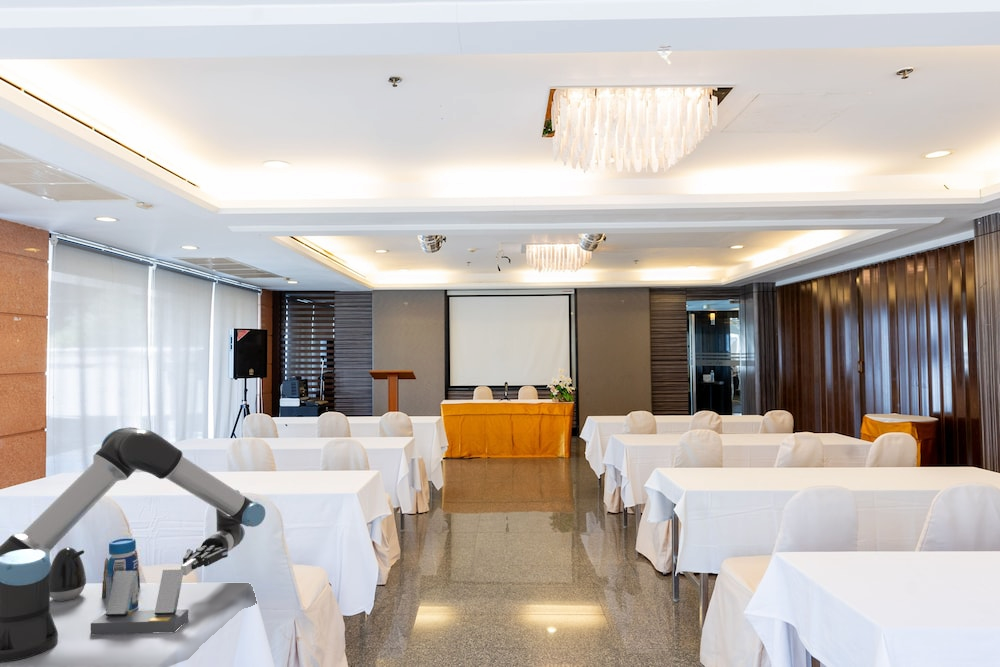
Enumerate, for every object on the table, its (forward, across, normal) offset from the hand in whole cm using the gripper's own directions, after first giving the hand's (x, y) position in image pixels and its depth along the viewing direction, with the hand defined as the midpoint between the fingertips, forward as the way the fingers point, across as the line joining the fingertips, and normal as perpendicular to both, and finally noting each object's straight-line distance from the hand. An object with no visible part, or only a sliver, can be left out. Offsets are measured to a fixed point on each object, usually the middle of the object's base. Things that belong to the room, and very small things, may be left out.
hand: (183, 570), depth 188 cm
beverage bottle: (-2, +18, -12) cm, 22 cm away
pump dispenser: (-13, +42, -12) cm, 45 cm away
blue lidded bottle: (-17, +27, -12) cm, 34 cm away
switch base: (+11, +7, -11) cm, 17 cm away
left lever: (+11, +13, -8) cm, 19 cm away
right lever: (+11, 0, -8) cm, 14 cm away
